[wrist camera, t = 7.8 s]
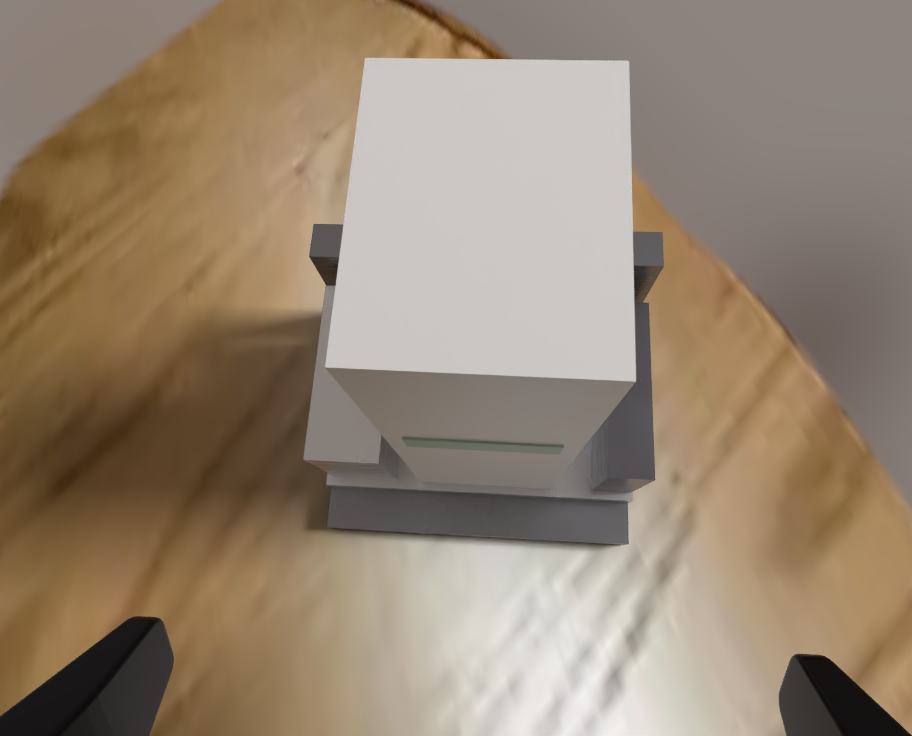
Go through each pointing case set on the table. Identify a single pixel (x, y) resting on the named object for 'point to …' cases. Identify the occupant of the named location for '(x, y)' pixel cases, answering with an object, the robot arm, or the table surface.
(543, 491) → the gray open holder
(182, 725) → the table surface
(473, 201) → the block
